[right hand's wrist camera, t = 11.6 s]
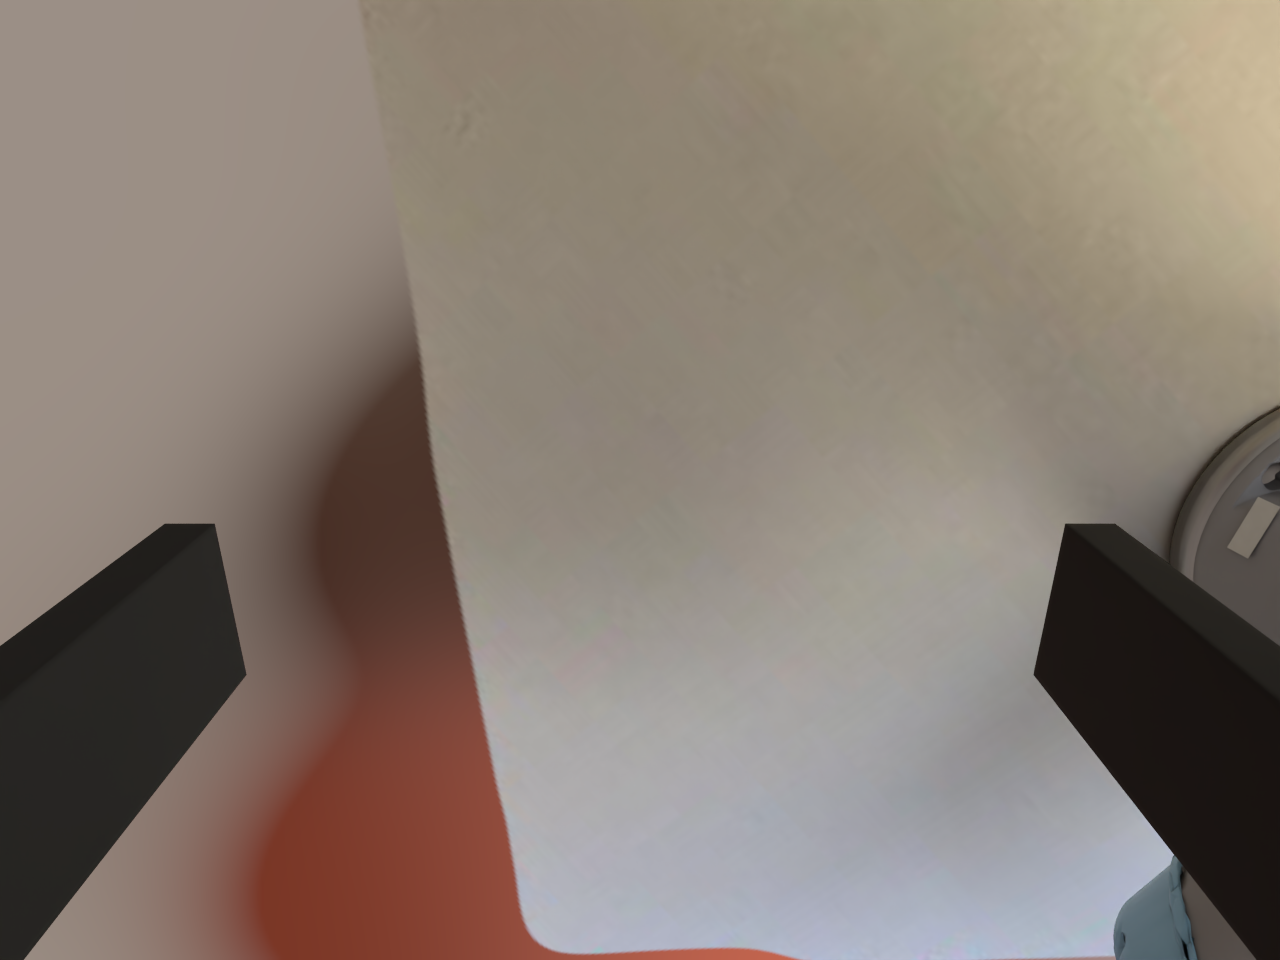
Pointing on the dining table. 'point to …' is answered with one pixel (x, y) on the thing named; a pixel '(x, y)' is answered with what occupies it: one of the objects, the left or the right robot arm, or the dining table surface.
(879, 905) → the dining table surface
